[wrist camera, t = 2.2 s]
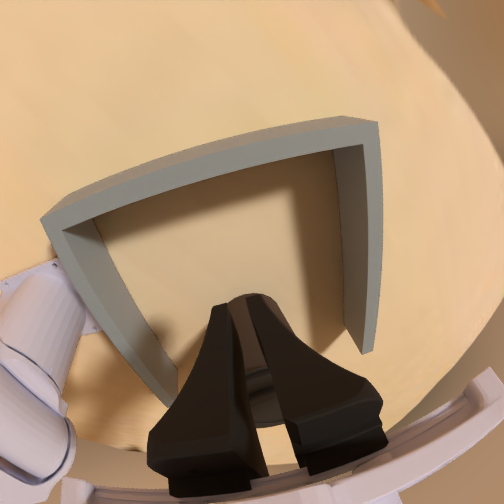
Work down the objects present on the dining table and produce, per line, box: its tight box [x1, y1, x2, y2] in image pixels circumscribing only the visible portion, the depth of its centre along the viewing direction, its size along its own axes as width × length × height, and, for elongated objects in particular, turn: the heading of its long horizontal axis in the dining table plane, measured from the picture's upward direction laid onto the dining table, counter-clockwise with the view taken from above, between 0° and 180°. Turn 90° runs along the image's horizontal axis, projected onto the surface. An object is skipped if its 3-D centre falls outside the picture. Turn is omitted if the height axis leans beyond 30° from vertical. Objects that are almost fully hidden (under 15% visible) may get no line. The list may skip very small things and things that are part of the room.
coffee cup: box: [227, 293, 296, 428], centre depth 21 cm, size 8×8×10 cm
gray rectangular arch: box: [40, 116, 383, 408], centre depth 21 cm, size 20×20×4 cm
